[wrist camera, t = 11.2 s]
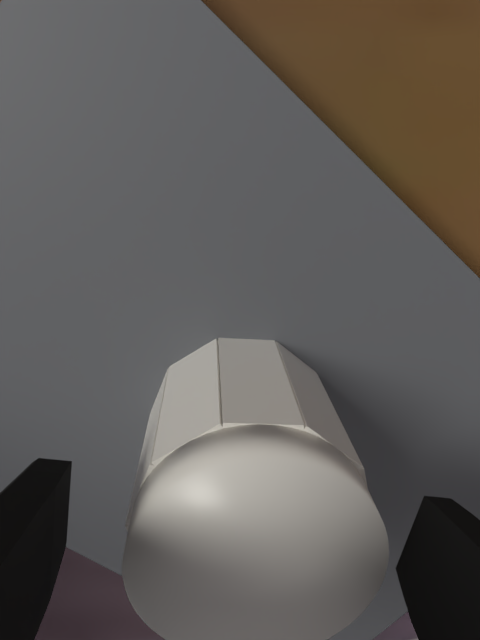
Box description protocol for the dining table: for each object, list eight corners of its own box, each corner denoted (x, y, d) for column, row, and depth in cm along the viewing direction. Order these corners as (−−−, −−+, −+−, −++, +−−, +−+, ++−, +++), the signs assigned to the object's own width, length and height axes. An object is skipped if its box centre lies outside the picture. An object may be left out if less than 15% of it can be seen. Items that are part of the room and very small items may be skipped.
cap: (182, 503, 14) (169, 686, 9) (130, 359, 12) (78, 493, 7) (336, 466, 14) (402, 631, 9) (305, 315, 12) (369, 423, 7)
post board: (-183, 367, 13) (-404, 487, 8) (94, -85, 10) (-9, -302, 5) (313, 639, 18) (348, 805, 14) (593, 405, 15) (764, 517, 11)
